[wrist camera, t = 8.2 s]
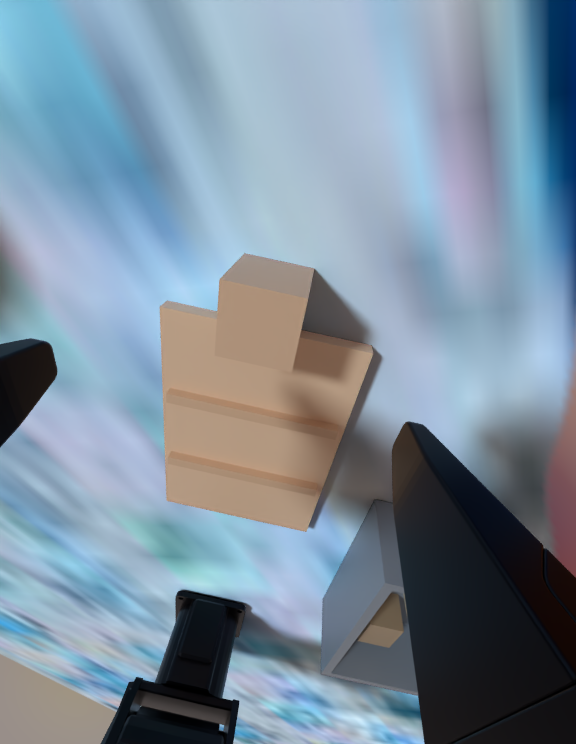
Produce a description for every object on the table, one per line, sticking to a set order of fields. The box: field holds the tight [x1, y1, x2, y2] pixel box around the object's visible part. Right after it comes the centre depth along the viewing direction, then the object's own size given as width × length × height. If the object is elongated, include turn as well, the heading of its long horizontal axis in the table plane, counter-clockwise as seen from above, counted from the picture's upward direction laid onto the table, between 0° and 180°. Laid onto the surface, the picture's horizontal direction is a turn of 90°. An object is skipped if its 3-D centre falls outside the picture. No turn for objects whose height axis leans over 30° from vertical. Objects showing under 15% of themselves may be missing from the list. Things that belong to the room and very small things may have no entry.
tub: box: [321, 500, 418, 696], centre depth 23 cm, size 14×9×5 cm, turn 169°
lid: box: [160, 253, 373, 532], centre depth 17 cm, size 17×10×4 cm, turn 169°
